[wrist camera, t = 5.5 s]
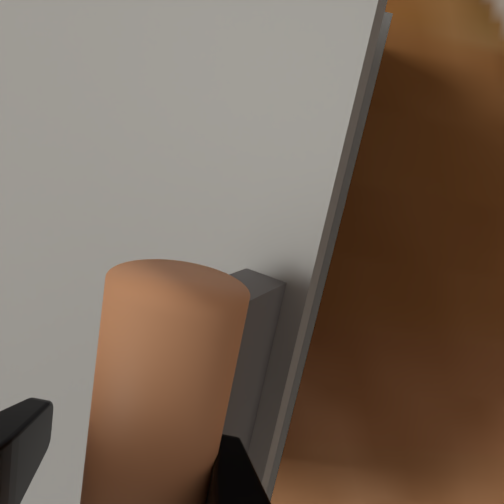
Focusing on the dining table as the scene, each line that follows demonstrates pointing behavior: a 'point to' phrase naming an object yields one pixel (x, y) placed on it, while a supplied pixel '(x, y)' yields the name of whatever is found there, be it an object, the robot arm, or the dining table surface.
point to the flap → (167, 225)
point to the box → (331, 243)
